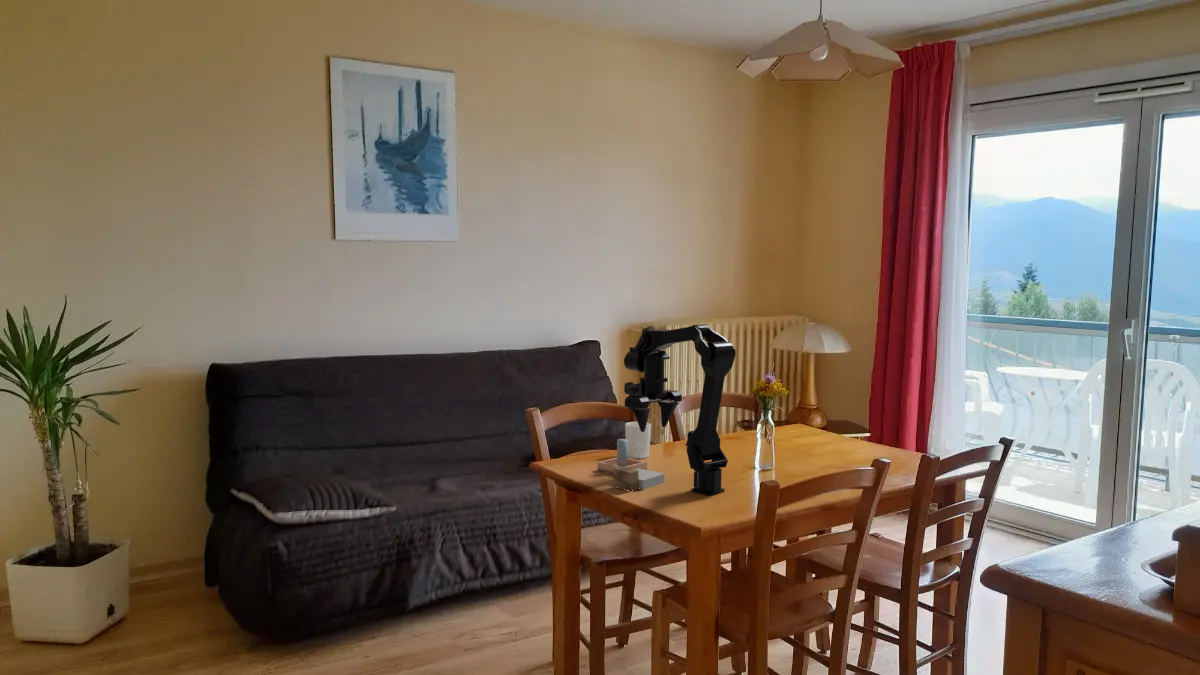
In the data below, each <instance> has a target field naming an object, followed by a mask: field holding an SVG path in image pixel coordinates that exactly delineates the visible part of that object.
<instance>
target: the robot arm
mask: <svg viewBox="0 0 1200 675" xmlns="http://www.w3.org/2000/svg"><path fill="white" fill-rule="evenodd" d="M685 342H686V343H687V342H693V345H694V349H695V351H696V353H697V354H698V355H699V356H700V357H701V358H700V366H701V367H702V370H703V372H704V380H703V386H702V393H701V399H700V408H699V413H698V414H699V415H698V420H697V426H696V428H695V429H694V430H690V431H688V433H687V439H686V443H685V447H686V454H687V458H688V463H689V467H690V469H692V470H693V488H691V489H690V491H692V492H695V493H698V494H702V495H707V496H713V495H717V494H720V493H722V492H725V491H726V490H725V488H723V487H722V470H723V468H727V465H728V462H729V460H728V459H727V457H726V455H725V452H724V451H723V450H722V449H721V438H720V436H719V432H718V431H717V426H718V422H719V415H720V408H721V401H722V395H723V391H724V383H725V378H726V376H727V375H728V374H729V372H730V371H731V369H732V367H733V365H734V362H735V358H736V349H735V347H734V346H733V344H732V343H731V342H730V341H728V340H727V338H726V337H724V336H723V335H721V334H720V333H718V332H716V331H715V330H713V329H712V327H710V326H709V325H707V324H704V323H702V324H693V325H691V326H685V327H680V328H675V329H666V328H664V329H663V328H662V329H661V328H660V329H644V330H643V331H642V333H641V336H640V337H639V339H638V340H637V343H636V344H635V346H631V347H629V351H627V353H626V354H625V356H624V359H623V365H624V366H625V368H626V369H627V370H629V371H633V372H634V371H635V372H639V373H643V377H640V379H639V383H634V382H633V381H629V382H625V383H624V386H623V387H624V388H623V390H624V394H625V395H628V396H626V397H625V398H624V407H626V408H627V409H628V410H631V411H632V412H633V413H634V416H635V418H636V422H638V424H639V427H640V430H641V432H645V428H646V425H647V423H648V419H649V415H650V410H651V408H649V406H650V404H652V403H653V404H654V403H658V405H659V407H660V421H661V423H660V424H661V427H662V428H666V427H667V425H668V422H669V421H670V419H671V417H672V415H673V413H674V411H675V410H676V408H677V406H678V405H679V404H680V402H682V400H683V399H682V398H683V394H682V393H681V391H679V390H674V389H665V383H668V377H665V361H666V360H670V355H668V353H667V352H666V349H668V348H670V347H672V346H673V345H674V344H675V345H676V344H678V343H679V344H680V343H681V344H682V343H685ZM706 461H707V462H706Z"/></svg>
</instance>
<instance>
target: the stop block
mask: <svg viewBox="0 0 1200 675" xmlns="http://www.w3.org/2000/svg"><path fill="white" fill-rule="evenodd" d="M615 487H618V488H617V489H619V488H622V489H625V490H624V491H626V490H629V491H628V492H630V491H631V492H633V491H632V490H635V491H637V490H636V489H638V470H633V469H629V468H625V467H618V468H614V474H613V488H615ZM622 489H621V490H622ZM638 490H639V489H638Z"/></svg>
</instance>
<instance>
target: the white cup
mask: <svg viewBox="0 0 1200 675" xmlns="http://www.w3.org/2000/svg"><path fill="white" fill-rule="evenodd" d="M624 426H625V427H624V428H625V439H627V440H628V458H631V459H635V460H639V459H647V458H649V457H650V447H651V446H650V445H651V432H652V423H650V422H647V425H646V428H645V432H641V430H640V427H639V424H638V421H630V422H625V423H624Z"/></svg>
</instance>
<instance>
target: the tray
mask: <svg viewBox="0 0 1200 675" xmlns="http://www.w3.org/2000/svg"><path fill="white" fill-rule="evenodd" d="M618 467H621V466H617V456H616V457H612V458H608V459H603V460H600V461H597V471H598V472H603V473H606V472H608V473H607V474H610V473H612V474H611V475H614V468H618ZM625 468H629V469H633V470H634V469H637V468H640V469H645V470H648V462H647V461H643V460H639V459H635V458H629V457H628V460H627V466H626V467H625Z"/></svg>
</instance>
